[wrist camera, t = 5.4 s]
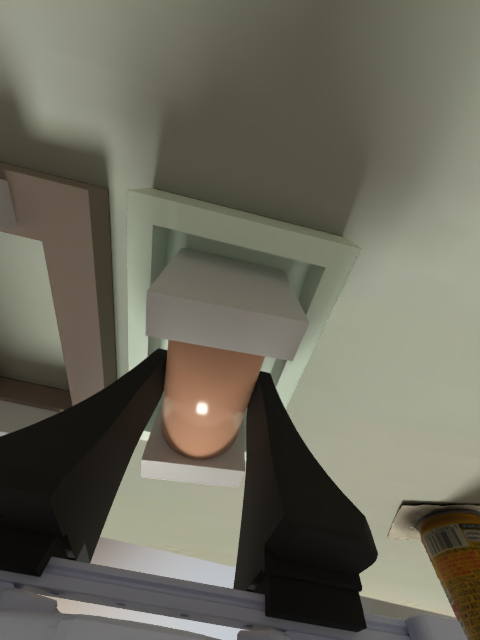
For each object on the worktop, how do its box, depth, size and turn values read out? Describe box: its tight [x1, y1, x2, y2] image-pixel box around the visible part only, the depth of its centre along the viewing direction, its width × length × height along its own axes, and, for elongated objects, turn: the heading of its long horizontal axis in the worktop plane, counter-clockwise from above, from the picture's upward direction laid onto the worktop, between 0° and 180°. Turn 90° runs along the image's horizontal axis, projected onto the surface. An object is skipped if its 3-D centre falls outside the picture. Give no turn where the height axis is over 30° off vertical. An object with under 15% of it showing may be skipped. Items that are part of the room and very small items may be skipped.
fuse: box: [141, 248, 309, 488], centre depth 12 cm, size 10×5×5 cm, turn 167°
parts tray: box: [127, 188, 361, 461], centre depth 14 cm, size 15×9×2 cm, turn 167°
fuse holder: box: [0, 162, 117, 436], centre depth 14 cm, size 17×11×4 cm, turn 167°
